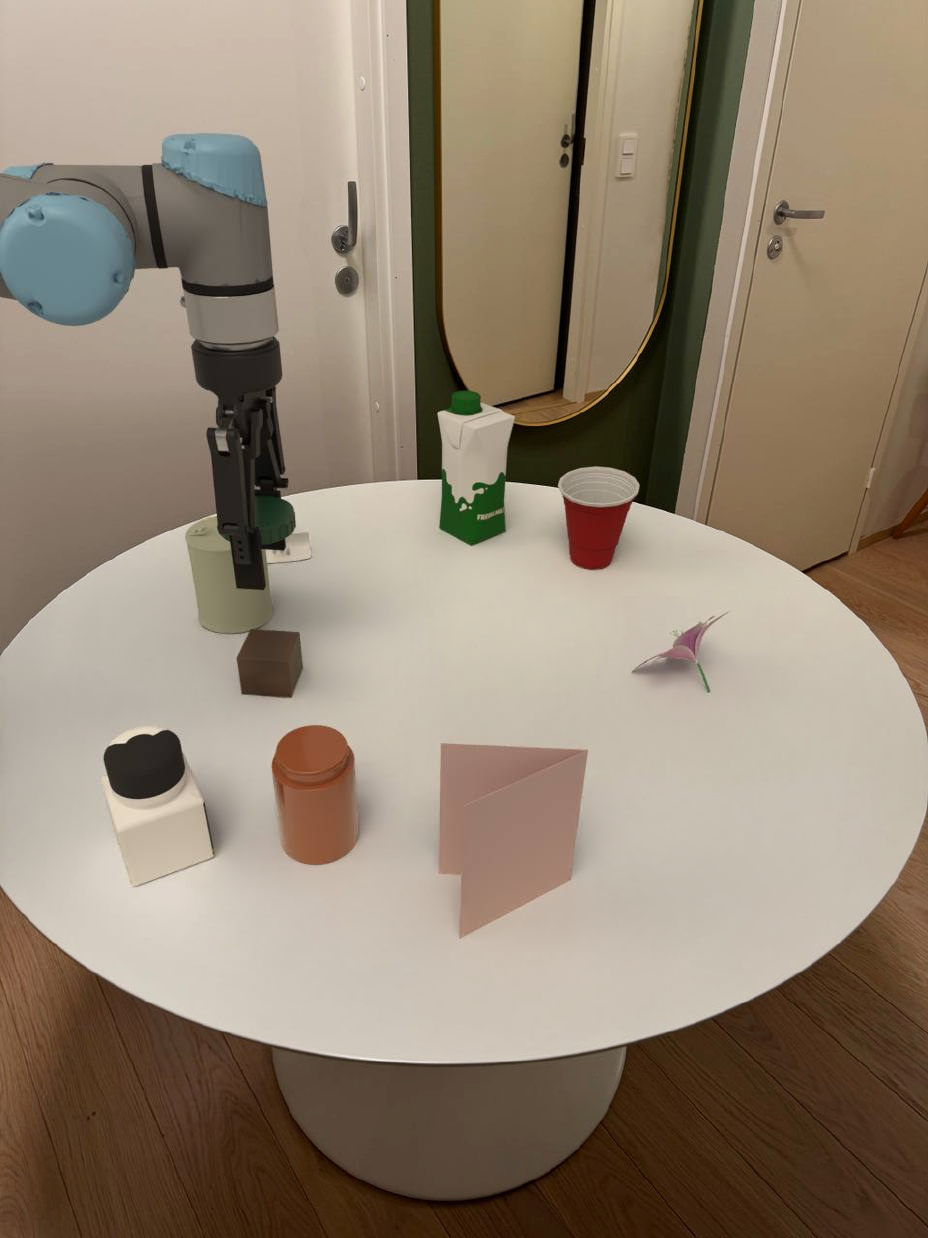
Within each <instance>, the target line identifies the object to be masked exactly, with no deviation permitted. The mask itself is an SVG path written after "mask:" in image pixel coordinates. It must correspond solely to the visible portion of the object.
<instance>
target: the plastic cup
mask: <svg viewBox="0 0 928 1238" xmlns="http://www.w3.org/2000/svg"><path fill="white" fill-rule="evenodd" d="M557 487H558V490H559V492H560V493H561V495H562V499H563V504H564V512H565V524H566V532H567V539H568V552H569V553H568V555H569V556H570V561H571V562H572V564H574V565H575V566H577V567H579V568H582V569H586V570H593V571H594V570H601V569H605V568H607V567H608V566H609V565H611V562H612V561H613V558H614V555H615V552H616V549H617V546H618V544H619V542H620V539H621V536H622V533H623V532H622V531H623V530H624V526H625V523H626V521H627V520H626V519H627V517H628V514H629V512H630V510H631V506H632V504H633V502H634V499H635V498H636V497H637V496H638V494H639V490H640V483H639V482H638V480H637V479H636V477H635V476H633V475H631V474H630V473H629V472H626V471H624V470H621V469H617V468H613V467H607V466H606V467H605V466H587V467H580V468H577V469H574V470H570V471H567V473H565V474H564V475H563V476H561V477H559V481H558V485H557Z"/></svg>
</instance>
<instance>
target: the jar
mask: <svg viewBox="0 0 928 1238" xmlns="http://www.w3.org/2000/svg"><path fill="white" fill-rule="evenodd" d="M270 766H271V767H270V768H271V774H272V775H271V776H272V782H273V791H274V798H275V806H276V813H277V821H278V822H277V823H278V828H279V838H280V844H281V847H282V849H283V851H284V852H285V854H287V855H288V856H289V857H290V858H291V859H292V860H294V861H297V862H299V863H301V864H306V865H313V866H314V865H315V866H316V865H317V866H318V865H319V866H320V865H326V864H330V863H333V862H335V861H338V860H340V859H341V858H344V857H345V856H347V854H348V853H350V852H351V851H352V850H353V848H354V847H355V845H356V844H357V841H358V839H359V833H360V832H359V815H358V798H357V797H358V796H357V795H358V794H357V779H356V777H357V776H356V761H355V754H354V751H353V750H352V748H351V746H350V745H349V744H348V740H347V738H346V737H345V736H344V734H343V733H342V732H340V731H339V730H338V729H335V728H334V727H331V726H328V725H323V724H322V725H321V724H309V725H304V726H300V727H296V728H295V729H293V730H291V731H288V732H287V733H286V734H285V735H284V736H282V738H281V739H279V741H278V743H277V745H276V748H275V752H274V755H273V758H272V760H271V765H270Z"/></svg>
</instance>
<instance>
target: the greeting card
mask: <svg viewBox="0 0 928 1238" xmlns="http://www.w3.org/2000/svg"><path fill="white" fill-rule="evenodd" d="M588 753H589V749H582V748H581V749H580V748H561V747H559V748H556V747H535V746H512V745H494V744H492V745H491V744H471V743H470V744H468V743H449V742H441V743H440V762H439V763H440V764H439V765H440V769H439V770H440V771H439V773H440V775H439V830H438V831H439V834H438V835H439V836H438V838H439V839H438V841H439V842H438V843H439V845H438V874H439V875H440V874H441V875H442V874H443V875H461V878H460V880H461V881H460V903H459V904H460V906H459V907H460V908H459V932H458V933H459V934H458V935H459V936H458V937H459V940H460V939H462V938H463V937H466V936H468V935H470V934H471V933H474V932H475V931H477V930H479V929H481V928H483V927H484V926H486V925H488V924H490V923H492V922H493V921H495V920H497V919H499V918H501V917H504V916H505V915H507V914H509V913H511V912H513V911H515V910H517V909H518V908H520V907H522V906H524V905H525V904H527V903H529V902H531V901H533V900H536V899H538V898H539V897H541V896H542V895H543V896H544V894H546V893H548V892H550V891H552V890H554V889H556V888H558V887H559V886H561V885H563V884H565V883H566V882H569V881H570V880H571V875H572V870H573V869H572V868H573V862H574V855H575V847H576V840H577V834H578V833H577V832H578V827H579V826H578V825H579V820H580V819H579V818H580V811H581V803H582V797H583V790H584V783H585V775H586V769H587V768H586V767H587V762H588V761H587V760H588Z"/></svg>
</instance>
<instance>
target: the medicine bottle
mask: <svg viewBox="0 0 928 1238" xmlns="http://www.w3.org/2000/svg"><path fill="white" fill-rule="evenodd" d="M102 759H103V764H104V767H105V772H106V774H104V775H102V776H101V777H100V784H101V788H102V792H103V795H104V799H105V802H106V806H107V809H108V813H109V817H110V820H111V824H112V828H113V831H114V835H115V838H116V841H117V845H118V847H119V848H118V849H119V850H120V854H121V857H122V861H123V863H124V866H125V870H126V874H127V876H128V880H129V883H130V885H132V887H138V886H141V885H144V884H146V883H148V882H151V881H154V880H156V879H159V878H162V877H165V876H167V875H169V874H172V873H175V872H177V871H181V870H183V869H186V868H188V867H192V866H194V865H197V864H199V863H202V862H204V861H207V860H210V859H212V858H213V857H214V856H215V848H214V843H213V839H212V833H211V828H210V823H209V819H208V812H207V808H206V803H205V802H206V801H205V799H204V797H203V795H202V792H201V790H200V787H199V785H198V783H197V780H196V778H195V776H194V773H193V772H192V769H191V766H190V764H189V763H188V760H187V758H186V756H185V753H184V752H183V749H182V743H181V740H180V738H179V736H178V735H177V734H176V733H175V732H173V730H170V729H167V728H166V727H162V726H159V725H158V726H157V725H144V726H138V727H135V728H131V729H129V730H126V731H124V732H122V733H121V734H119V735H118V736H116V737H115V738H114V739H113V740H112V741H111V742H110V743H109V744H108V746H107V747H106V748H105V750H104V753H103V758H102Z"/></svg>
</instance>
